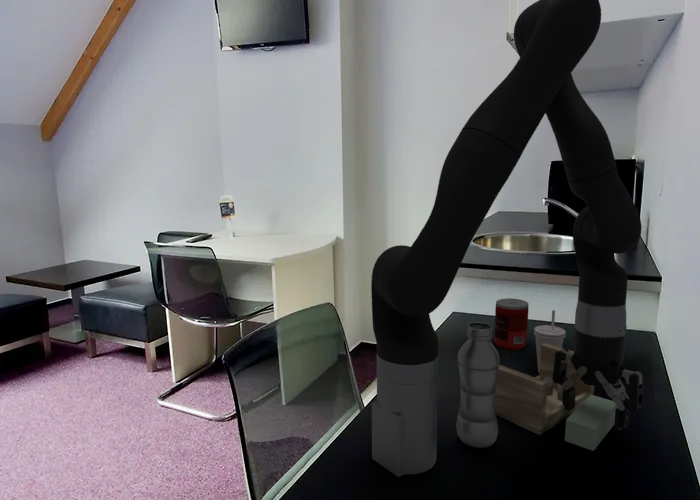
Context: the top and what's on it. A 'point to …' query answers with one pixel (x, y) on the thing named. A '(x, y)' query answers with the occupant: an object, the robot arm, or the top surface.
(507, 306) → the canned food
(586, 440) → the grey-green rectangular block
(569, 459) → the top surface
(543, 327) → the smoothie
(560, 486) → the top surface
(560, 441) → the top surface
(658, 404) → the top surface
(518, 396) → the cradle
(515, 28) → the robot arm
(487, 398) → the plastic bottle
